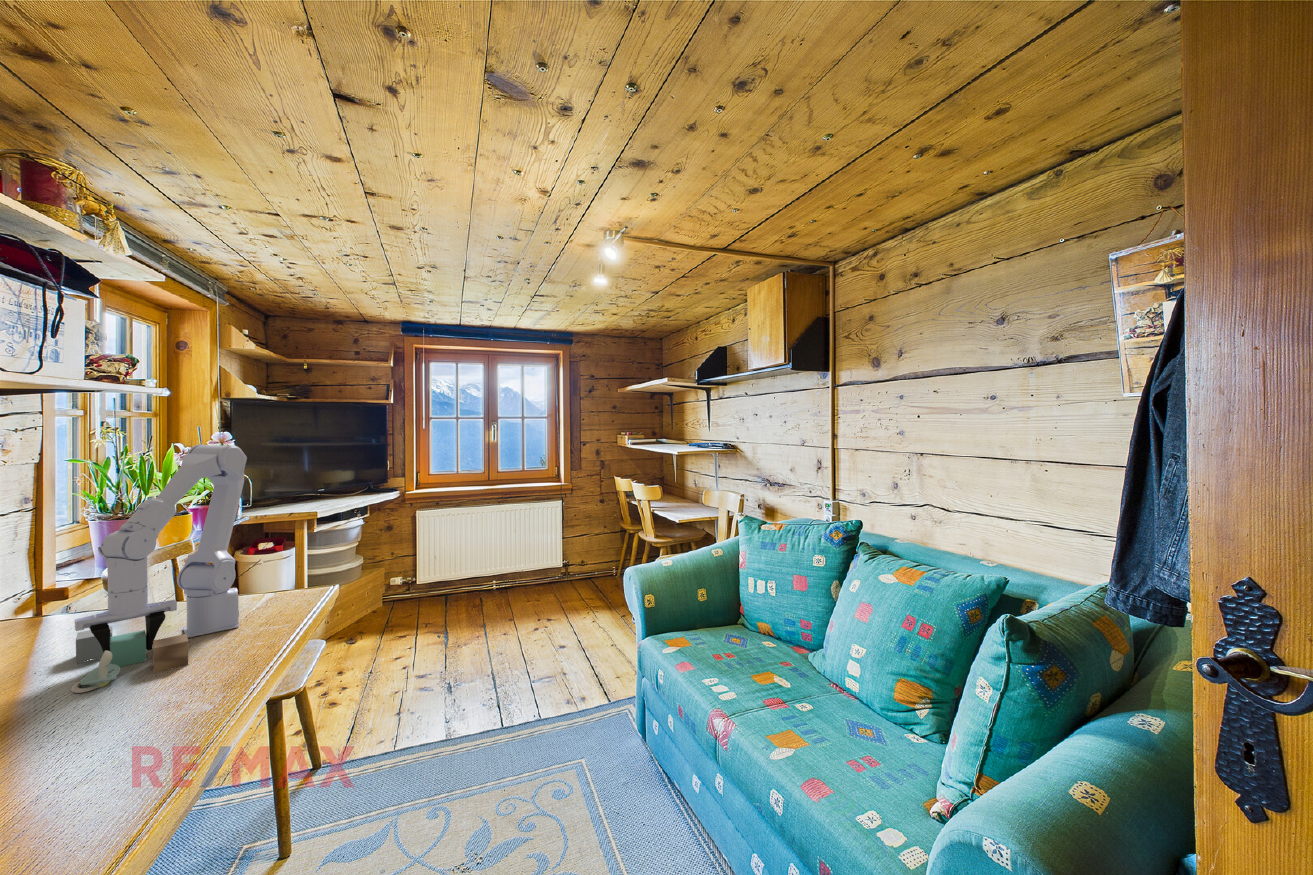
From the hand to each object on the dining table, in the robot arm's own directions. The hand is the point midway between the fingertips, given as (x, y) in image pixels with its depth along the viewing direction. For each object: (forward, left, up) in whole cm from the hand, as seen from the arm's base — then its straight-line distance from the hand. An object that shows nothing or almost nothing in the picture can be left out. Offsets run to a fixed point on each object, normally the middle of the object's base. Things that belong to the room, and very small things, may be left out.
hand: (128, 653), depth 106 cm
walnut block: (-6, +8, -2) cm, 10 cm away
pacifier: (+4, +9, -2) cm, 10 cm away
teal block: (0, 0, -1) cm, 1 cm away
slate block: (+5, -8, -2) cm, 10 cm away
